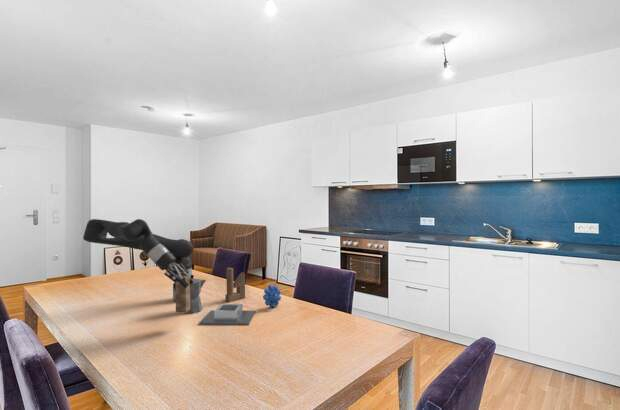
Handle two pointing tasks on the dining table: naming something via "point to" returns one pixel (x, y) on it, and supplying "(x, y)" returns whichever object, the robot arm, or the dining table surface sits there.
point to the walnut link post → (183, 296)
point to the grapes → (272, 296)
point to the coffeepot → (194, 295)
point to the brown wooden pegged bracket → (235, 286)
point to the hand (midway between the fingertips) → (189, 284)
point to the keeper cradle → (228, 316)
